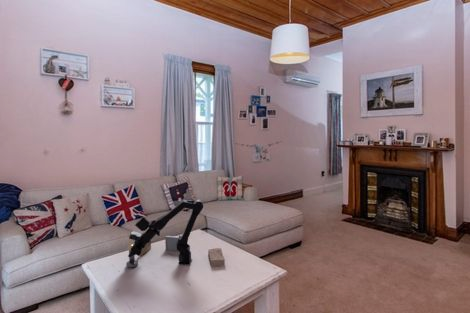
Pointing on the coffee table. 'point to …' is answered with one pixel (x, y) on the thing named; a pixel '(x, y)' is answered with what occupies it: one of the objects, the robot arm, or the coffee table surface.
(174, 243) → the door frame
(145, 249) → the door
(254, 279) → the coffee table surface
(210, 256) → the brick
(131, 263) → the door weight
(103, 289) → the coffee table surface
